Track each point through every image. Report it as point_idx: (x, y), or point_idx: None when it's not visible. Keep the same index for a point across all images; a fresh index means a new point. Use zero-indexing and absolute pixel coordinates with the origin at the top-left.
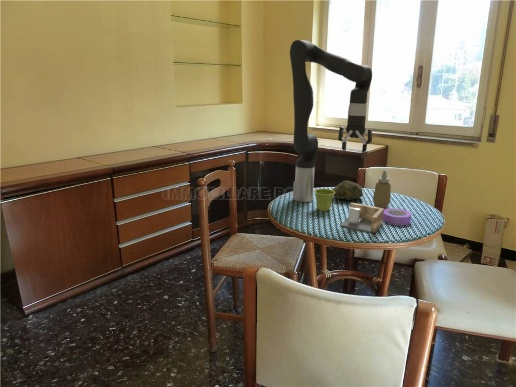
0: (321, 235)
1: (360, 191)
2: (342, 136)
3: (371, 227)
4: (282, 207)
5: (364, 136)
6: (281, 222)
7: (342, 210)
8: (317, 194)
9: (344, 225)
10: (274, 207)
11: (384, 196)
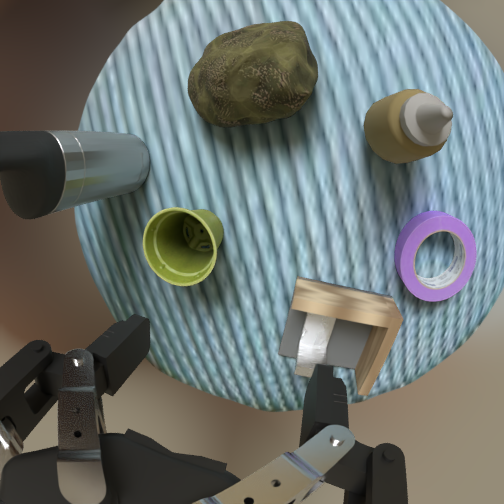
0: (247, 400)
1: (308, 97)
2: (34, 378)
3: (356, 375)
4: (105, 259)
5: (302, 490)
6: (148, 356)
7: (263, 219)
8: (163, 273)
9: (289, 356)
10: (92, 266)
11: (414, 160)
